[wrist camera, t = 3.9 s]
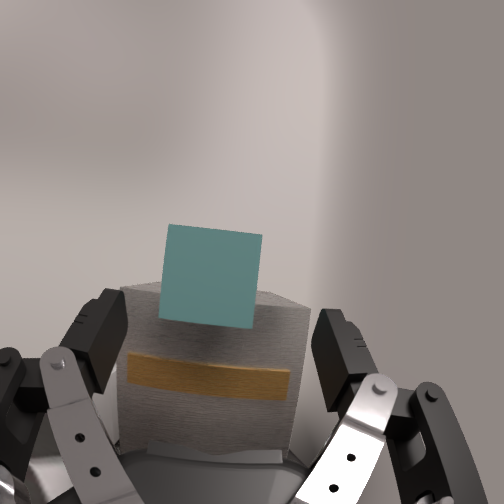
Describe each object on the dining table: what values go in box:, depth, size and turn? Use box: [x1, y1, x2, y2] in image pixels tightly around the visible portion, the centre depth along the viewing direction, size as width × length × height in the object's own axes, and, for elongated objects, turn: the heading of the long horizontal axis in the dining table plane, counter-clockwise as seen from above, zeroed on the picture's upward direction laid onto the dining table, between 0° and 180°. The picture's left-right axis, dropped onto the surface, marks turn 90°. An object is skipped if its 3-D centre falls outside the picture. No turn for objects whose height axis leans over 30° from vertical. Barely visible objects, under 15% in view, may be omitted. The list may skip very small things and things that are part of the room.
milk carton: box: [92, 362, 119, 445], centre depth 44 cm, size 7×7×19 cm
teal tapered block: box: [158, 224, 262, 329], centre depth 24 cm, size 27×4×4 cm, turn 5°
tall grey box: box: [116, 282, 311, 459], centre depth 29 cm, size 20×14×36 cm
